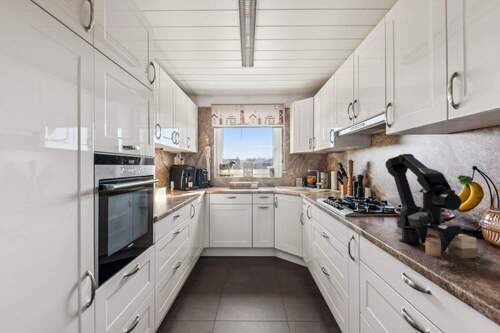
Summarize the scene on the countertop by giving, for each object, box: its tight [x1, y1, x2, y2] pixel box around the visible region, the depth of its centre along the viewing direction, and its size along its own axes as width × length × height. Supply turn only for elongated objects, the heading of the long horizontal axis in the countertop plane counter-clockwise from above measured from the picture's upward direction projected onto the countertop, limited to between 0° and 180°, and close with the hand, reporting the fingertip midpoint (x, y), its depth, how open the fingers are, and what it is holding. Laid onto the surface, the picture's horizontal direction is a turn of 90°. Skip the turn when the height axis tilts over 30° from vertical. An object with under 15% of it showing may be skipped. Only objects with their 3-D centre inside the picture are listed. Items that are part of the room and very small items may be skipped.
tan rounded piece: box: [424, 238, 442, 258], centre depth 94 cm, size 5×5×5 cm
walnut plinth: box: [447, 244, 479, 259], centre depth 93 cm, size 6×6×4 cm
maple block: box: [450, 233, 477, 249], centre depth 93 cm, size 6×6×4 cm
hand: (432, 247), depth 94 cm, fingers open, 9 cm apart
